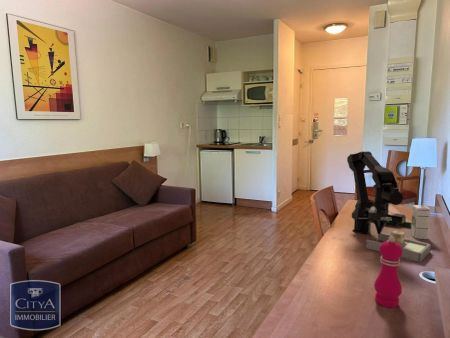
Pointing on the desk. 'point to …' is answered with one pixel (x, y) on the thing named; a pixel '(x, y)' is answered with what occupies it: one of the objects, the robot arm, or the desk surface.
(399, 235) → the wooden cube
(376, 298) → the pepper mill
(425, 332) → the desk surface
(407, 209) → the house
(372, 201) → the robot arm
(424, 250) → the tray
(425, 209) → the syrup box
